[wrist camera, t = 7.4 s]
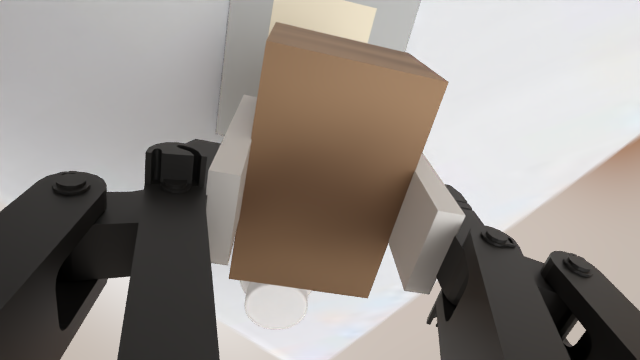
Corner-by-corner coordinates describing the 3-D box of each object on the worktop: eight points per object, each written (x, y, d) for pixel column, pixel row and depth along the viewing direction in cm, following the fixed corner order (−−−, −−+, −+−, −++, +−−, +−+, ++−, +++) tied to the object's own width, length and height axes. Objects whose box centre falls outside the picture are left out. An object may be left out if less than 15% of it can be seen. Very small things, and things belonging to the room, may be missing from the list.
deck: (276, 21, 14) (266, 40, 10) (408, 53, 15) (448, 82, 11) (245, 209, 18) (228, 278, 14) (352, 227, 18) (367, 298, 14)
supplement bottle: (326, 222, 34) (336, 308, 25) (282, 257, 35) (276, 350, 27) (281, 182, 32) (274, 261, 23) (236, 222, 33) (214, 309, 25)
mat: (216, 131, 29) (215, 134, 29) (236, -49, 24) (235, -49, 24) (369, 160, 31) (370, 163, 31) (420, -2, 26) (422, -2, 25)
